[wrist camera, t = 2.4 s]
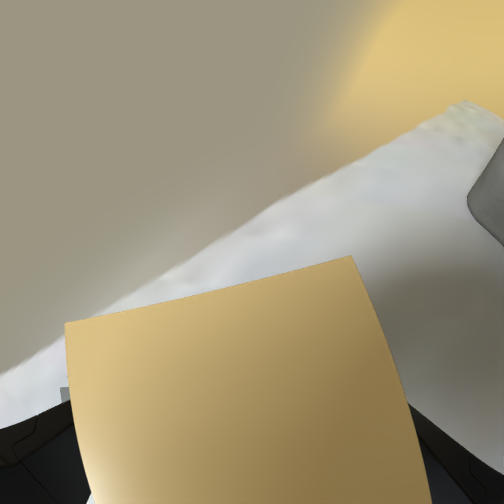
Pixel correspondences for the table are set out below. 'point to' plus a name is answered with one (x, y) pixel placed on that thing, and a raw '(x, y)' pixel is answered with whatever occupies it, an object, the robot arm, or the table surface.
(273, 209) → the table surface
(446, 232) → the table surface
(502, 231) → the flask
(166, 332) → the plug
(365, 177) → the table surface
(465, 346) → the table surface
